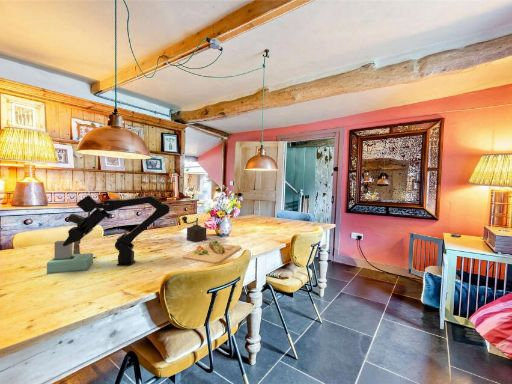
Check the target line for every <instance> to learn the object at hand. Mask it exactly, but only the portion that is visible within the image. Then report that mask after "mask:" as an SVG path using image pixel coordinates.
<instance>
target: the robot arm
mask: <svg viewBox="0 0 512 384" xmlns="http://www.w3.org/2000/svg"><path fill="white" fill-rule="evenodd" d="M147 204H149V205H150V206H152V207H153V208H154V209H155V210H154V211H153V212H152V214H151V215H149V216H148V217H146V218H145V219H144V220H143V221H141V223H139V224H138V225H137V226H136V227H135V228H134V229H132V230H131V231H128V233H127V232H126V231H124V232H123V233H122V235H120V236H118V237H117V239H116V242H115V243H114V248H115V249H116V250H117V251H118V255H117V264H116V266H125V267H126V266H127V267H128V266H131V265H133V264H134V263H136V260H135V250H133V249H134V247H135V245H134V244H133V241H134V239H136V238H137V237H138V236H139V235H140V234H142V233H143V232H144V231H146V229H148V227H150V226H151V225H152V224H153V223H155V222H156V221H157V220H159V219H161V218H162V217H164V216H167V215H168V213H170V211H171V210H170V209H171V208H170V205H169V204H168V203H166V202H162V201H160V200H158V199H157V198H155V196H154V195H146V196H138V197H133V198H126V199H125V198H124V199H122V198H109V199H107V200H105V201H100V202H97V200H95V199H94V198H93V197H92V195H87V196H85V197H83V198H82V199H80V200H79V201H78V202H77V203H76V204H75V205H76V206H77V207H78V208H80V210H82V211H83V212H84V213H89V215H87V216H86V217H84V216H82V215H80V214H77V213H71V214H69V216H68V217H67V219H66V221H67V222H69V223H70V222H71V223H73V224H76V226H73V227H71V228H70V229H69V230H67V234H68V236H67V238H66V239H65V240H64V241H65V242H64V243H63V246H67V245H69V244H71V243H73V244H74V242H76V241H79V240H80V241H81V240H82V239H83V238H84V237H85V236H87V235H88V234H90V233H91V232H92V231H93V230H94V228H95V227H97V226H98V225H99V224H100V223H101V222H102V221H103V220H104V219H105V218H107V219H108V220H110V219H111V218H112V212H113V211H116V210H119V209H122V208H126V207H132V206H139V205H147Z"/></svg>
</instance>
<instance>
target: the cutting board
mask: <svg viewBox="0 0 512 384" xmlns="http://www.w3.org/2000/svg"><path fill="white" fill-rule="evenodd" d="M240 249H241V250H242V246H241V245H236V244H235V245H233V244H228V243H219V242H218V240H215V239H213V240H212V241H210V242H209V243H207V244H205V245H203V246H201V245H199V244H198V246H197V247H196V249H193V250H192V251H190V252H187V253H185V254H183V255H182V259H183V260H188V261H193V262H200V263H201V262H202V263H207V264H212V265H217V264H221V263H222V262H223V261H225V260H226V259H229V257H231V256H233V255H234V254H236V253H237V252H239V251H240Z"/></svg>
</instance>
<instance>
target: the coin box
mask: <svg viewBox="0 0 512 384" xmlns="http://www.w3.org/2000/svg"><path fill="white" fill-rule="evenodd" d="M93 257H94V253H93V252H91V253H90V252H88V253H80V254H73V253H72V259H64V260H55V256H54V257H52V258H51V259H50V260H49V261H47V262H46V275H49V274H51V275H52V274H62V273H72V272H82V271H83V272H85V271H88V269H90V267H91V266H92V265H93V263H94V259H93Z"/></svg>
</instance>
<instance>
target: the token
mask: <svg viewBox="0 0 512 384" xmlns="http://www.w3.org/2000/svg"><path fill="white" fill-rule="evenodd" d="M65 241H66V240H56V241H55V242H54V257H55V260H64V259H72V254H73V250H74V243H71V244H69V245H67V246H63V243H64V242H65Z"/></svg>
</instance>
